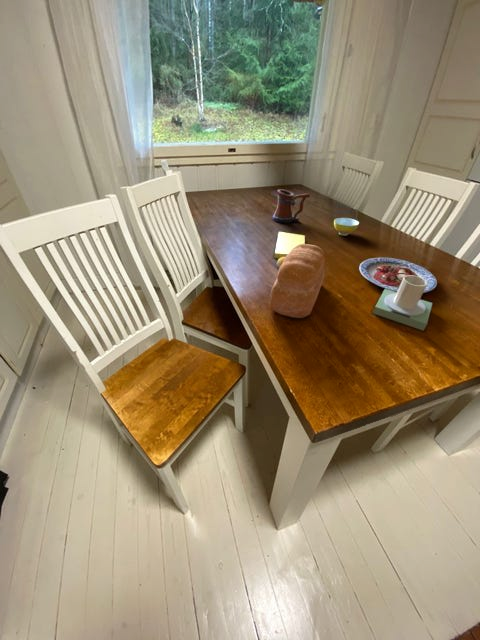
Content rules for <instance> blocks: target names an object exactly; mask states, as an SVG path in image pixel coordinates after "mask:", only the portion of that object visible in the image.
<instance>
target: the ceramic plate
mask: <svg viewBox="0 0 480 640" xmlns="http://www.w3.org/2000/svg"><path fill="white" fill-rule="evenodd" d="M358 269H359V272H360V274H361V275H362V276H363V278H365V279H366V280H367V281H369V282H371V283H372V284H374V285H376V286H378V287H381V288H383V289H387V290H390V291H394V292H397V291H398V289H399V287H400V284H401V282H402V280H403V278H404V276H406V275H414V276H418V277H421V278H423V279H425V280H426V281H427V283H428V284H427V286H426V288H425V290H424V292H423V294H424V293H428V292H431V291H433V290H434V289H435V288H436V287H437V284H438V281H437V278H436V276H434V274H432V273H431V272H430V271H429V270H427V269H426V268H424V267H422V266H420V265H418V264H416V263H412V262H410V261H407V260H403V259H398V258H392V257H373V258H368V259H365V260H363V261H362V262H361V263H360V264H359V268H358Z"/></svg>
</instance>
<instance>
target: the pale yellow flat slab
mask: <svg viewBox="0 0 480 640" xmlns="http://www.w3.org/2000/svg"><path fill="white" fill-rule="evenodd" d="M305 237H306V235H303V234H297V233H291V232H284V231H278V234H277V240H276V245H275V250H274V259H280V258H281V257H286V256H287V255H288V254H289V253H290V252H291V250H292V249H293V248H294V247H296V246H297V245H300V244H306V240H305Z"/></svg>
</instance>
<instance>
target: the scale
mask: <svg viewBox="0 0 480 640" xmlns="http://www.w3.org/2000/svg"><path fill="white" fill-rule="evenodd" d="M396 294H397V292H396V291H392V290H389V289H386V288H384V290H383V291H382V294H381V295H380V296H379V299H378V301H377V303H376V305H375V306H374V309H373V311H372V314H374V315H376V316H380V317H383V318H385V319H388V320H390V321H394V322H397V323H399V324H402V325H405V326H409V327H411V328H415V329H417V330H420V331H424V330H425V329H426V328H427V326H428V322H429V318H430V315H431V311H432V307H433V302H430V301H427V300H423V299H421V298H420V300H419V302H418V304H417V306H416V307H415V308H414V309H404V308H401V307H399V306H397V305H396V304H395V303H394V298H395V296H396Z"/></svg>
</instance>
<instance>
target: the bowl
mask: <svg viewBox="0 0 480 640" xmlns="http://www.w3.org/2000/svg"><path fill="white" fill-rule="evenodd" d="M359 224H360V221H358V220H356V219H355V218H349V217H337V218H335V219H333V227H334V229H335V230H336V231H337V232H338V235H340V236H344V237H345V236H349V234H351V233H353V232H354V231H356V230H357V228H358V227H359Z"/></svg>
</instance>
